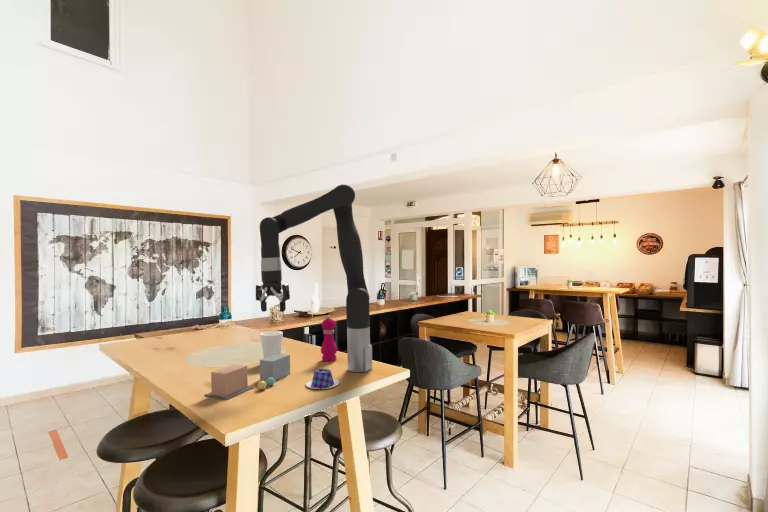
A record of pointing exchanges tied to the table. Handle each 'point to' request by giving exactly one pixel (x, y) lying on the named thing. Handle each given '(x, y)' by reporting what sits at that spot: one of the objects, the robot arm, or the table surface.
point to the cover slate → (275, 366)
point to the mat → (230, 395)
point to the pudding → (322, 380)
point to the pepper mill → (328, 340)
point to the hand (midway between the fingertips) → (273, 311)
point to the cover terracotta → (228, 380)
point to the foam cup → (271, 343)
